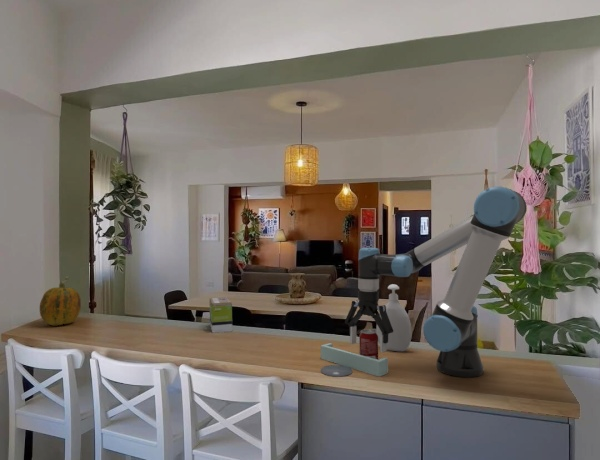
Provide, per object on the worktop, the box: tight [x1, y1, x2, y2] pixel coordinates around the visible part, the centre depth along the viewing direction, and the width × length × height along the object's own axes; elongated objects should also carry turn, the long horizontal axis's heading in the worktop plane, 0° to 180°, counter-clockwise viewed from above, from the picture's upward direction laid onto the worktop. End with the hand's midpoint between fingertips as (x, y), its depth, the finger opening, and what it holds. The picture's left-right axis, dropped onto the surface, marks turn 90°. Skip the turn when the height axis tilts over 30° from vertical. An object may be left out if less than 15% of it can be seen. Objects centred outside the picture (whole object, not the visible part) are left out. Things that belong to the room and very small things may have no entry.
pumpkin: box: [39, 275, 82, 327], centre depth 214 cm, size 19×19×25 cm
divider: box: [320, 342, 389, 378], centre depth 147 cm, size 27×5×5 cm, turn 43°
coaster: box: [320, 364, 353, 378], centre depth 141 cm, size 11×11×1 cm
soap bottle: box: [375, 283, 413, 353], centre depth 167 cm, size 14×8×27 cm, turn 62°
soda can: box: [358, 329, 379, 360], centre depth 148 cm, size 7×7×12 cm
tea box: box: [209, 296, 233, 334], centre depth 204 cm, size 15×10×15 cm
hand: (367, 347), depth 149 cm, fingers open, 13 cm apart
